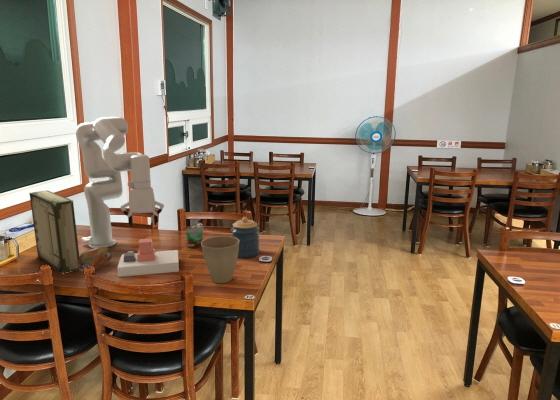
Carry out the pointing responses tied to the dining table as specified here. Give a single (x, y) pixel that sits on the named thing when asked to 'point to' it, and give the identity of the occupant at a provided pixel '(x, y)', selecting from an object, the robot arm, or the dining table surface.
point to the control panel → (55, 230)
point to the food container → (194, 235)
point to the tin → (95, 258)
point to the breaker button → (129, 257)
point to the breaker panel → (150, 264)
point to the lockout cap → (146, 250)
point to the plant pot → (220, 257)
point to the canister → (246, 237)
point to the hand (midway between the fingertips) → (143, 224)
